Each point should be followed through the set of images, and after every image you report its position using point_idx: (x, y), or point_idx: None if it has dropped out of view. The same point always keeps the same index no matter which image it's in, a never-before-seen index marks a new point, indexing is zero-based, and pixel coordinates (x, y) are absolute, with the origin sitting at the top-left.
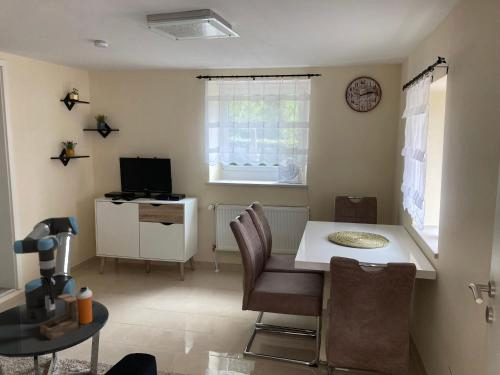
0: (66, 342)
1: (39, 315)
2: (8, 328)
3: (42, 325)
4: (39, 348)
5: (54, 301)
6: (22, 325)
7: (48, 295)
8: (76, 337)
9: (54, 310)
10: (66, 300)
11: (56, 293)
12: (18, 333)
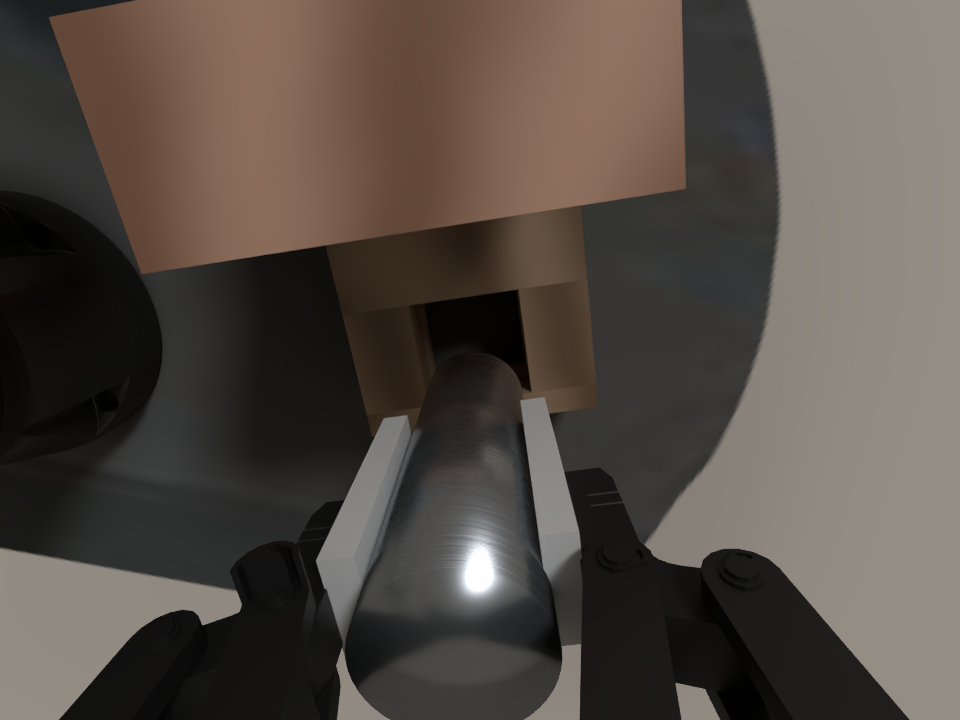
0: (738, 292)
1: (101, 362)
2: (131, 550)
3: (411, 424)
4: (653, 477)
5: (621, 501)
6: (133, 464)
7: (470, 686)
8: (724, 186)
9: (498, 384)
10: (604, 198)
11: (863, 670)
12: (276, 520)
